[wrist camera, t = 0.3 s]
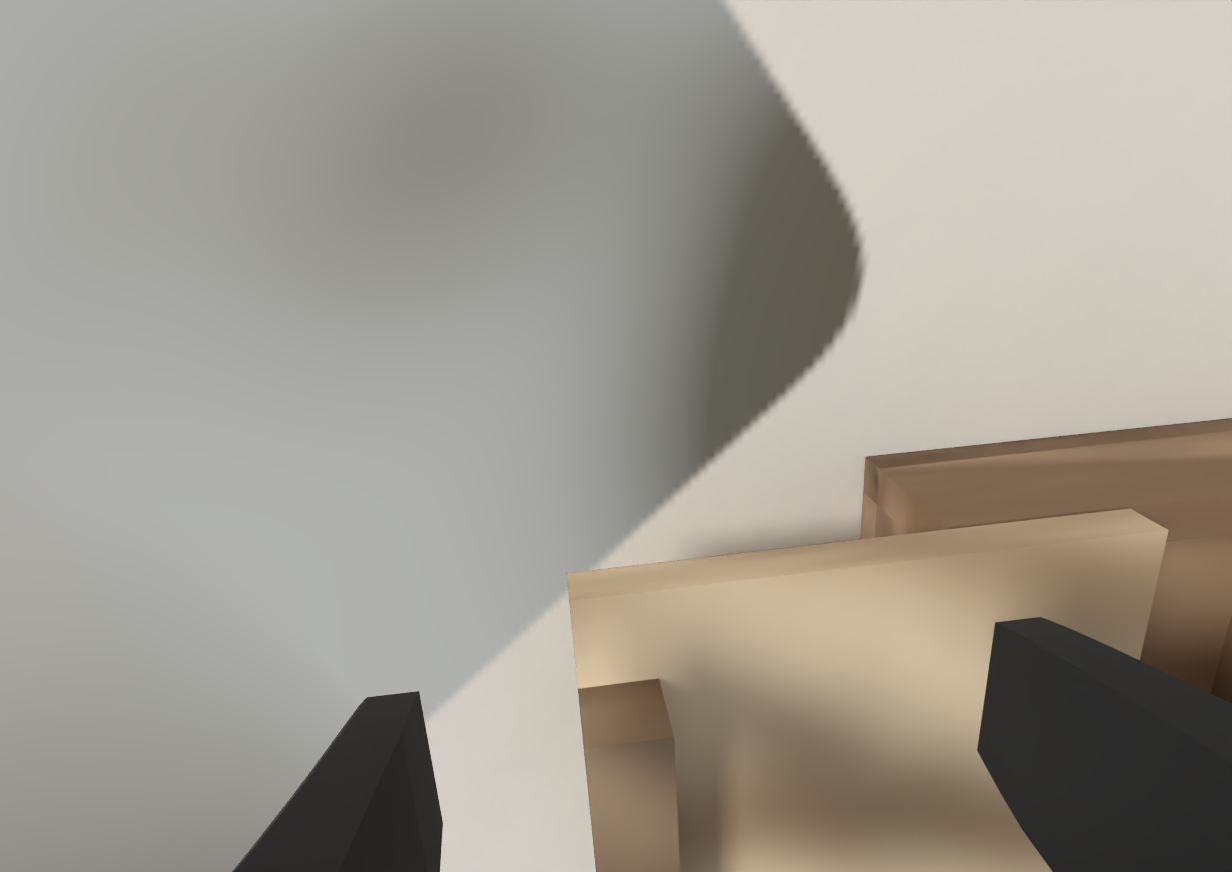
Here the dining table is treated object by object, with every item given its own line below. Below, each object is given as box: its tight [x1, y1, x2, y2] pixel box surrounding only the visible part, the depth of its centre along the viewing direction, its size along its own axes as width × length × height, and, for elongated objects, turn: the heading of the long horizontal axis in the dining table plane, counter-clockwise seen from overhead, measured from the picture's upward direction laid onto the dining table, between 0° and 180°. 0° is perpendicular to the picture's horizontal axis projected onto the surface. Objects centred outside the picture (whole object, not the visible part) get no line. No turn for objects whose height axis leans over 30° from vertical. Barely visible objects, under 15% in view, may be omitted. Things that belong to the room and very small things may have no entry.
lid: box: [567, 509, 1169, 872], centre depth 16 cm, size 14×12×3 cm
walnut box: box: [861, 418, 1232, 704], centre depth 20 cm, size 14×12×4 cm
